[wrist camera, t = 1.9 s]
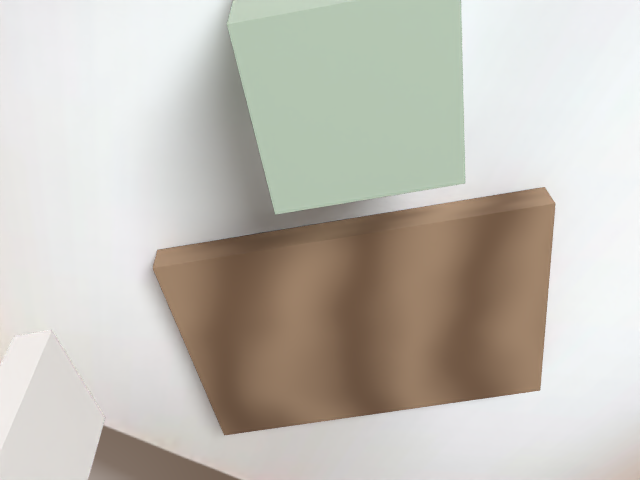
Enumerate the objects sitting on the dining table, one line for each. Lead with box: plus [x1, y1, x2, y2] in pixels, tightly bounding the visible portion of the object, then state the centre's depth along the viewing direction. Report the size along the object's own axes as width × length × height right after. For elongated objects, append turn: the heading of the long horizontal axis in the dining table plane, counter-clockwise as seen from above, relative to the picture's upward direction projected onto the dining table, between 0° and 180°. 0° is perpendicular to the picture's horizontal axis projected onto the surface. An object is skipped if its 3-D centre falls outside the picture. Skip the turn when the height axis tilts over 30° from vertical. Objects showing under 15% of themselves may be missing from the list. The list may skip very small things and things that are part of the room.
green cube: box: [227, 0, 465, 215], centre depth 23 cm, size 7×7×7 cm
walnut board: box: [153, 187, 555, 435], centre depth 34 cm, size 20×14×2 cm
